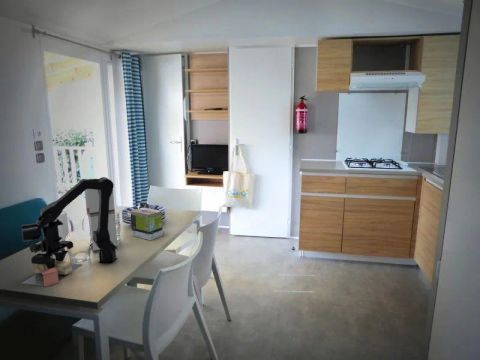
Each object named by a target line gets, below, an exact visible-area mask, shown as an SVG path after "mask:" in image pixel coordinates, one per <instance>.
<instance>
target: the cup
mask: <svg viewBox="0 0 480 360" xmlns="http://www.w3.org/2000/svg"><path fill="white" fill-rule="evenodd" d="M57 219H59V220H60V221H62V223H63V225H59V226H58V230H59V237H62V239H61V240H60V242H61V241H65V238H66V236H67V235H68V233H69V234H70V230H69V220H68V212H67V210H65V209H63V211H62V213H61V214H60V215H59V216H58V218H57ZM57 219H56V220H57ZM56 220H55V221H56Z"/></svg>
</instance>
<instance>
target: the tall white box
mask: <svg viewBox="0 0 480 360" xmlns="http://www.w3.org/2000/svg"><path fill="white" fill-rule="evenodd" d="M84 200H85V207H86V215H87V217H88V218H89V219H90V220H89V221H90V232H91V241H92V243H91V248H90V250H91V251H92V253H93V254H97V253H98V254H99V252H100V248H98V246H97V245H96V244H95V242H94V240H93V231H96V230H97V228H98V216H99V194H98V190H95V189H86V190H85V191H84ZM115 208H116V207H115V196H114V190H113V191H112V194H111V196H110V199H109V217H108V231H109V235H110V241H112V243H113V244H114V245H115V246H116V249H115V250H116V251H117V250H118V248H119V247H118V234H117V223H116V222H117V221H116V209H115Z"/></svg>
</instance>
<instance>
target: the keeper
mask: <svg viewBox="0 0 480 360" xmlns="http://www.w3.org/2000/svg"><path fill="white" fill-rule="evenodd" d="M41 273H42V274H43V279H44V287H50V286H49V285H52V284H55V285H56V284H59V283H60V281H58V272H57V270H56V268H55V267H54V268H51V269H47V270H43V271H41Z"/></svg>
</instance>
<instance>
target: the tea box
mask: <svg viewBox="0 0 480 360" xmlns="http://www.w3.org/2000/svg"><path fill="white" fill-rule="evenodd" d="M162 212H163V211H162V210H161V209H160V210H159V209H154V208H149V207H141V208H136V209H133V210H130V222H131V223H130V224H131V225H130V226H131V236H133V237H136V238H140V239H144V240H148V241H153V240H155V239H158V238H160V237H162V236H164V235H163V216H162V214H163V213H162Z"/></svg>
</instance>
